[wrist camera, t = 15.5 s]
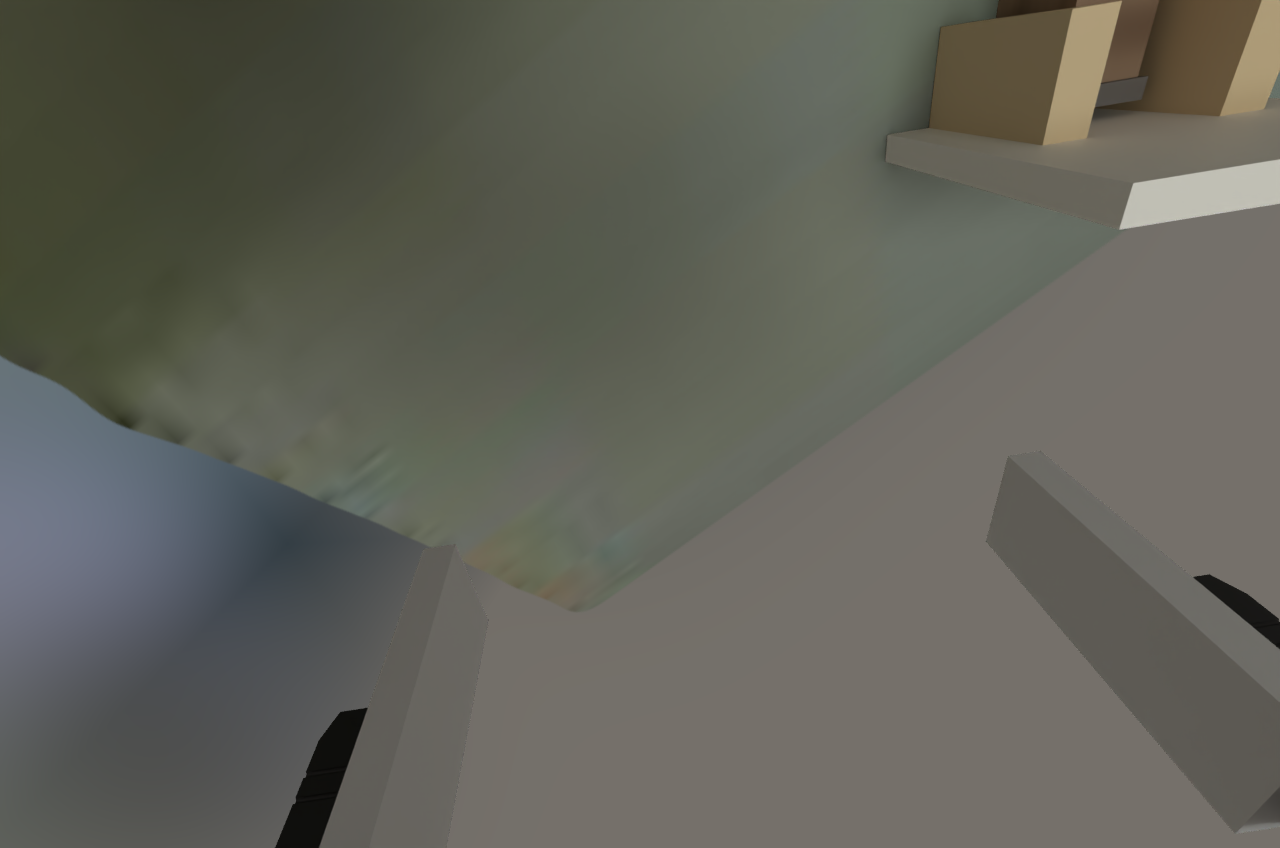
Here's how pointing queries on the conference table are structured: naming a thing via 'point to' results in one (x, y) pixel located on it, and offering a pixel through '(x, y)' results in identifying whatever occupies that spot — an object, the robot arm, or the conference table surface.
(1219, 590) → the robot arm
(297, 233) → the conference table surface
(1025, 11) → the rail
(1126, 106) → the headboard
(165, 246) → the conference table surface
